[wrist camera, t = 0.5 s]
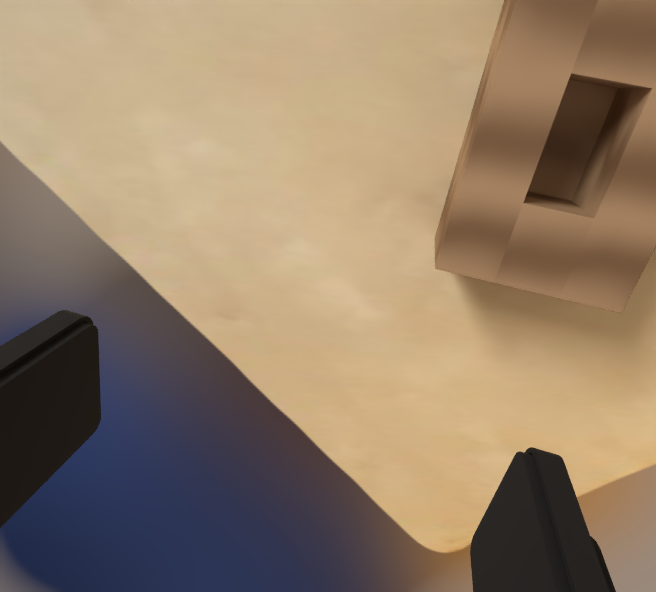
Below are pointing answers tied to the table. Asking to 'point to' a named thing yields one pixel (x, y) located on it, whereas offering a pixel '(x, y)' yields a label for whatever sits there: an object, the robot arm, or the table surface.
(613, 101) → the tan slotted block
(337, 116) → the table surface
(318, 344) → the table surface
